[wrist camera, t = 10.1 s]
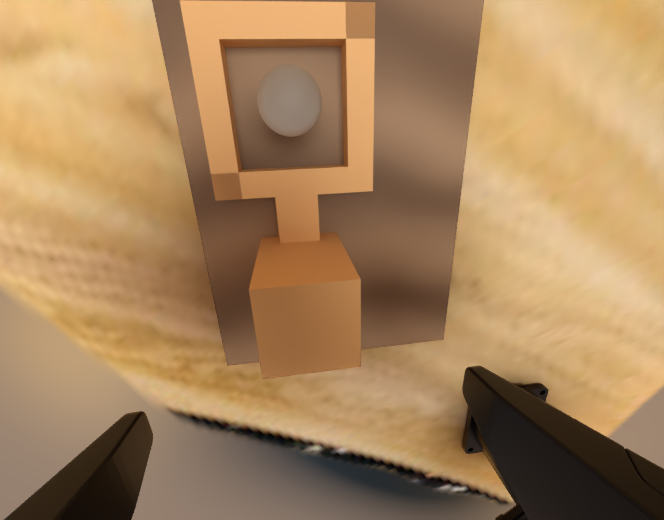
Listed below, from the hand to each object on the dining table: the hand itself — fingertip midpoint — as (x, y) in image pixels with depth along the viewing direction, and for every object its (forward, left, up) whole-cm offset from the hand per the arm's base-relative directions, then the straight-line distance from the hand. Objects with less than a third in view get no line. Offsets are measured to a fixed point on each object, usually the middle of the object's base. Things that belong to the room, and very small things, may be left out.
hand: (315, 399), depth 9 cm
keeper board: (+4, -2, -11) cm, 12 cm away
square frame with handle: (+5, 0, -9) cm, 10 cm away
